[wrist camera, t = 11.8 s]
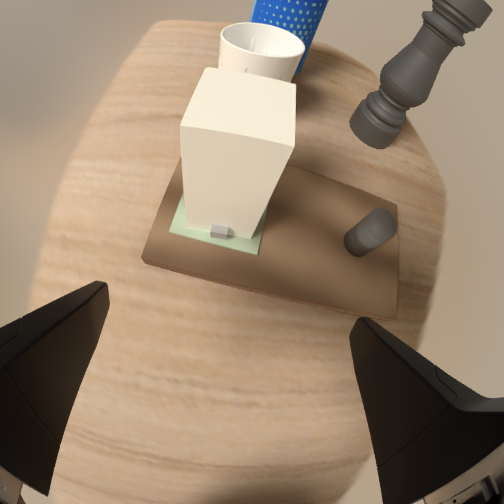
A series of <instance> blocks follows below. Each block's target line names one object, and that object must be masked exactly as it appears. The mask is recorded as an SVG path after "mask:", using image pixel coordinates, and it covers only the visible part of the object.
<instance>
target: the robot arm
mask: <svg viewBox="0 0 504 504" xmlns="http://www.w3.org/2000/svg"><path fill="white" fill-rule="evenodd" d="M109 306H110V301H109V291H108V285H107V283H106V282H102V281H94V282H92V283H90V284H88V285H86V286H83V287H81V288H79V289H77V290H75V291H73V292H71V293H69V294H67V295H65V296H63V297H61V298H59V299H57V300H54V301H52V302H50V303H48V304H46V305H44V306H42V307H40V308H38V309H36V310H34V311H32V312H30V313H29V314H27V315H25V316H23V317H22V318H19V319H17V320H15V321H13V322H11V323H9V324H7V325H5V326H3V327H1V328H0V504H25V502H24V500H23V498H22V496H21V494H20V493H21V489H22V485H23V484H25V485H27V486H29V487H30V488H32V489H34V490H36V491H37V492H39V493H41V494H43V495H45V496H47V497H48V494H49V490H50V485H51V480H52V476H53V472H54V467H55V463H56V460H57V456H58V452H59V449H60V444H61V441H62V438H63V434H64V431H65V428H66V425H67V422H68V419H69V416H70V413H71V410H72V407H73V404H74V401H75V399H76V396H77V393H78V390H79V388H80V385H81V383H82V380H83V377H84V375H85V372H86V370H87V367H88V365H89V363H90V360H91V358H92V355H93V353H94V351H95V348H96V346H97V343H98V340H99V337H100V334H101V331H102V328H103V325H104V322H105V319H106V316H107V313H108V310H109ZM349 340H350V346H351V352H352V358H353V364H354V370H355V374H356V379H357V382H358V386H359V390H360V394H361V398H362V402H363V406H364V410H365V414H366V418H367V422H368V427H369V431H370V436H371V440H372V445H373V450H374V454H375V459H376V464H377V467H378V468H377V470H378V476H379V482H380V487H381V493H382V500H383V504H413V503H415V502H417V501H419V500H422V499H423V500H424V503H425V504H504V397H503V398H487V397H484V396H481V395H480V394H478V393H476V392H475V391H473V390H472V389H470V388H468V387H467V386H465V385H464V384H462V383H461V382H459V381H457V380H456V379H454V378H453V377H451V376H450V375H448V374H447V373H445V372H444V371H443V370H441V369H440V368H439V367H437V366H436V365H434V364H433V363H432V362H430V361H429V360H427V359H426V358H425V357H423V356H422V355H421V354H419V353H418V352H416V351H415V350H414V349H412V348H411V347H410V346H408V345H407V344H405V343H404V342H403V341H401V340H400V339H398V338H397V337H396V336H394V335H393V334H391V333H390V332H389V331H387V330H386V329H384V328H383V327H382V326H380V325H379V324H377V323H376V322H374V321H373V320H372V319H370V318H368V317H359V318H358V319H357V321H356V323H355V325H354V327H353V329H352V331H351V333H350V336H349Z"/></svg>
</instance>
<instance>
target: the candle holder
mask: <svg viewBox="0 0 504 504" xmlns="http://www.w3.org/2000/svg"><path fill="white" fill-rule="evenodd" d="M432 1H433V5H432V7H433V10H432V11H431V12H429V11H424V12H423V13H422V17H423V19H424V20H423V23H424V24H423V25H422V27H421V29H420V30H419V32H418V33H417V35H416V36H415V38H414V39H413V41H412V42H411V43H410V44H408V45H407V46H406V47H405V48H404V49H403V50H401V51H400V52H399V53H398V54H397V55H396V56H394V57H393V58H392V59H391V60H390V61H389V62H388V63H387V64H385V65H384V67H383V68H382V71H381V74H380V83H381V85H380V86H379V90H378V91H375V92H371V93H369V94H368V95H367V98H366V99H364V100H362V101H361V102H360V104H359V106H358V107H357V109H356V110H355V112H354V113H353V115H352V116H351V119H350V121H349V122H350V127H351V129H352V130H353V132H354V134H355V135H356V136H357V137H358V138H359V139H360V140H361V141H363V142H364V143H366V144H367V145H369V146H371V147H374V148H376V149H384V148H386V147H387V146H388V145H389V144H390V143H391V142H392V140H393V139H394V138H395V137H396V136H397V135H398V134H399V132H400V130H401V125H403V124H404V123H405V119H406V116H405V114H406V111H407V110H409V109H410V107H416V106H419V105H421V104H422V103H424V102H425V101H426V100H427V98H428V96H429V94H430V91H431V88H432V86H433V84H434V81H435V79H436V76H437V74H438V71H439V69H440V66H441V64H442V63H443V61H444V60H445V59H446V57H447V56H448V55H449V53H450V52H451V51H452V49H453V48H454V47H457V46H464V45H465V41H464V38H463V34H464V33H468V32H470V31H475V29H476V28H480V27H481V26H482V25H483V23H484V22H485V21H486V19H487V18H488V17H489V15H490V14H491V12H492V8H491V7H490V6H489V5H488V4H487V3H486V2H485V1H484V0H432Z"/></svg>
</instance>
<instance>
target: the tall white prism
mask: <svg viewBox="0 0 504 504" xmlns="http://www.w3.org/2000/svg"><path fill="white" fill-rule="evenodd" d="M295 113H296V84H293V83H289V82H285V81H281V80H277V79H272V78H268V77H263V76H259V75H254V74H248V73H243V72H237V71H231V70H224V69H217V68H209V67H206V69H205V71H204V73H203V75H202V77H201V79H200V81H199V83H198V85H197V87H196V90H195V92H194V94H193V96H192V98H191V101H190V103H189V105H188V107H187V110H186V112H185V114H184V117H183V119H182V122H181V124H180V142H181V161H182V176H183V190H184V202H185V213H186V224H187V228H190V229H196V230H201V231H207V232H210V237H213V238H219V239H225V240H226V237H227V235H230V236H236V237H242V238H247V239H251V237H252V235H253V233H254V231H255V229H256V227H257V225H258V222H259V220H260V218H261V216H262V214H263V212H264V210H265V208H266V206H267V203H268V201H269V199H270V197H271V195H272V193H273V191H274V189H275V187H276V184H277V182H278V180H279V178H280V176H281V174H282V172H283V170H284V168H285V166H286V163H287V161H288V159H289V157H290V155H291V153H292V151H293V149H294V147H295Z"/></svg>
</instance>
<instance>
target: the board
mask: <svg viewBox="0 0 504 504" xmlns="http://www.w3.org/2000/svg"><path fill="white" fill-rule="evenodd" d="M141 258H142V260H143V261H144V263H146V264H149V265H153V266H156V267H160V268H164V269H167V270H171V271H174V272H178V273H182V274H185V275H189V276H193V277H196V278H200V279H204V280H208V281H212V282H216V283H219V284H223V285H227V286H231V287H235V288H239V289H243V290H247V291H251V292H255V293H260V294H264V295H268V296H272V297H277V298H281V299H285V300H290V301H294V302H298V303H303V304H307V305H312V306H317V307H321V308H326V309H331V310H335V311H340V312H345V313H350V314H355V315H360V316H365V317H370V318H375V319H381V320H391V319H396V308H397V292H398V218H397V205H396V204H394V203H392V202H389V201H387V200H384V199H382V198H380V197H377V196H375V195H372V194H370V193H367V192H365V191H362V190H359V189H357V188H354V187H352V186H349V185H346V184H343V183H341V182H338V181H335V180H332V179H329V178H327V177H324V176H321V175H318V174H315V173H312V172H309V171H306V170H303V169H300V168H296V167H293V166H290V165H287V164H286V166H285V168H284V170H283V172H282V174H281V176H280V178H279V180H278V182H277V184H276V187H275V189H274V191H273V193H272V195H271V197H270V199H269V201H268V203H267V206H266V208H265V210H264V212H263V214H262V216H261V218H260V220H259V222H258V225H257V227H256V229H255V231H254V233H253V235H252V237H251V239H247V238H242V237H236V236H230V235H227V237H226V240H225V239H219V238H213V237H210V232H207V231H201V230H196V229H190V228H187V224H186V213H185V202H184V190H183V176H182V161H181V158H180V160H179V162H178V164H177V167H176V169H175V171H174V173H173V176H172V178H171V180H170V183H169V185H168V187H167V190H166V192H165V195H164V197H163V200H162V202H161V205H160V207H159V210H158V212H157V215H156V217H155V220H154V223H153V225H152V228H151V231H150V234H149V236H148V239H147V242H146V245H145V248H144V250H143V253H142V256H141Z"/></svg>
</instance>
